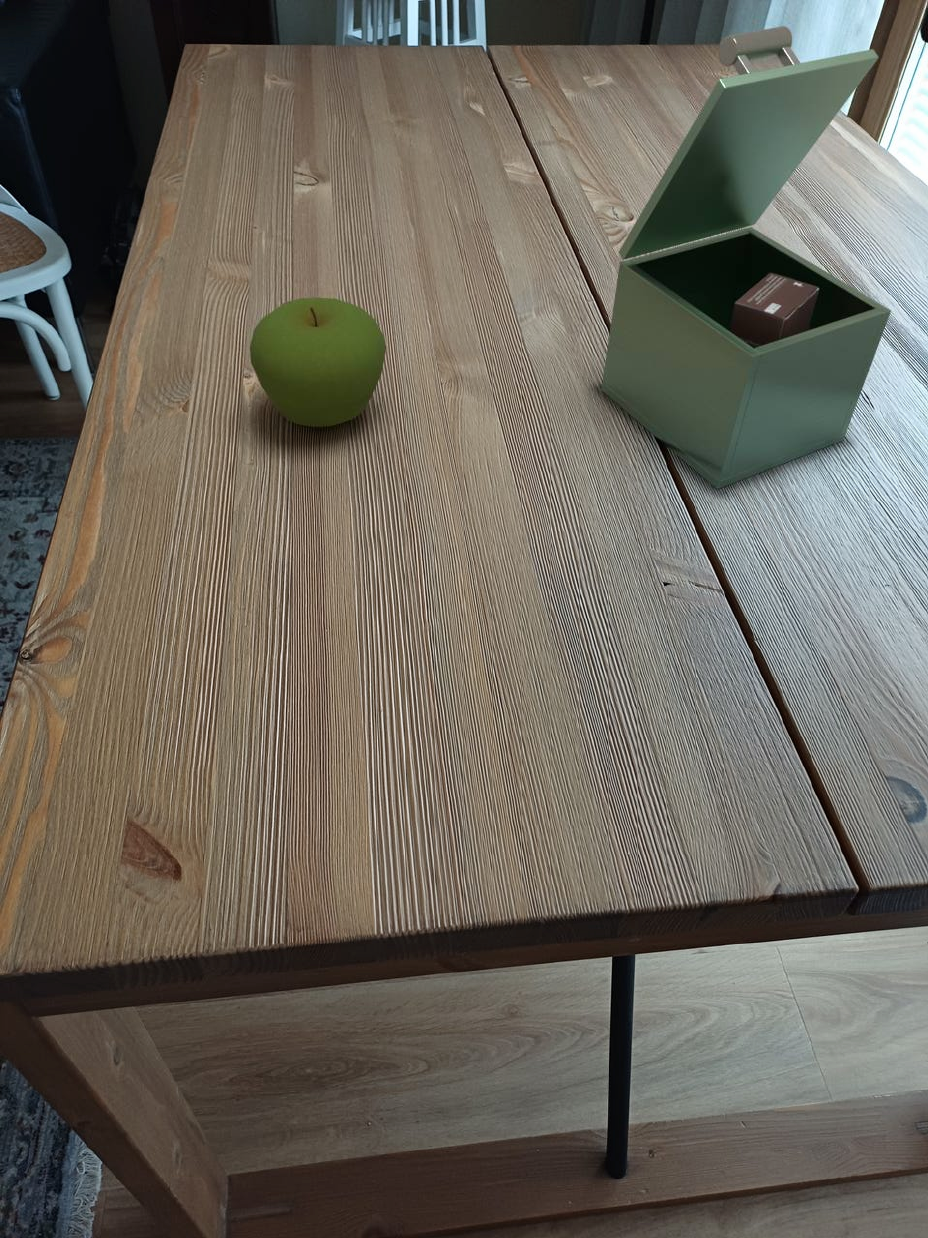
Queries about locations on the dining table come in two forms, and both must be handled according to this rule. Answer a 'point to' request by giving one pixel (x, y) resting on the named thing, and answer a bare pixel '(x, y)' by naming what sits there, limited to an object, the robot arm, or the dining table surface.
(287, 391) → the apple
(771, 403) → the trash can
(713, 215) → the bin lid
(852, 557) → the dining table surface
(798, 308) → the box
